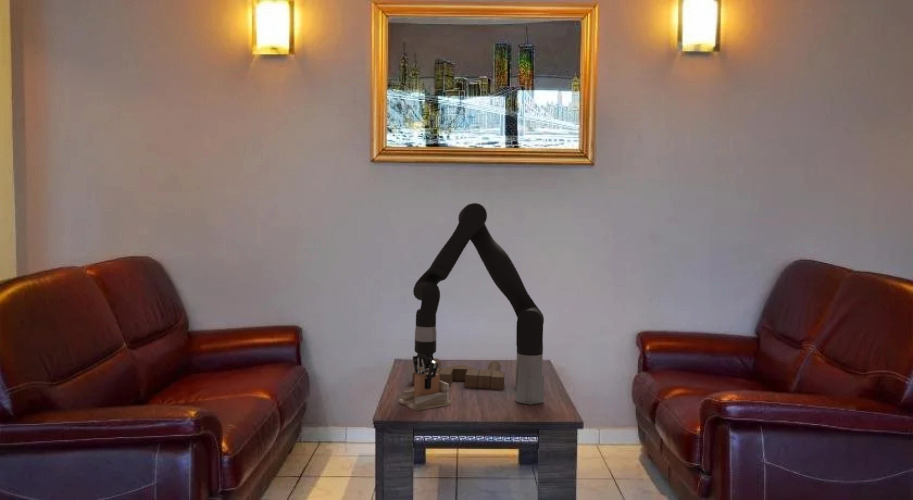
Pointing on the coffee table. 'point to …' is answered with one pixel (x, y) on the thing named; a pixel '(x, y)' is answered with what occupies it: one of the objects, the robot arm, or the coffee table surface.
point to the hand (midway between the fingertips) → (424, 387)
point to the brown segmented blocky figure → (471, 375)
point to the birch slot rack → (427, 398)
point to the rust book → (420, 385)
